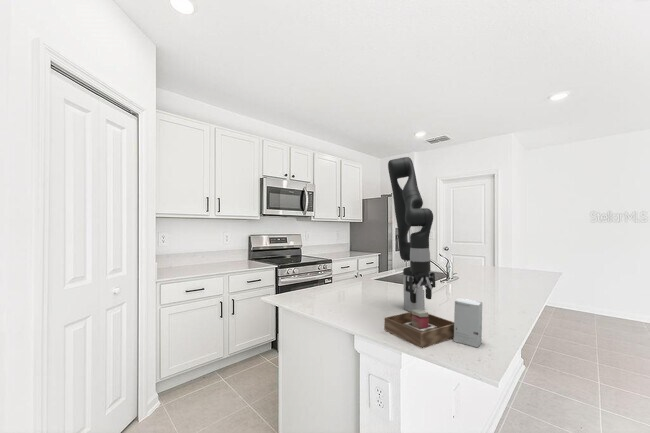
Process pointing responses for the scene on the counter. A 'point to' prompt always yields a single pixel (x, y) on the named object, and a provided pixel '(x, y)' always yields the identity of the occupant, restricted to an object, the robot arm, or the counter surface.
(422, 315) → the small box
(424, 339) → the crate
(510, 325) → the counter surface
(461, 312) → the skincare box
